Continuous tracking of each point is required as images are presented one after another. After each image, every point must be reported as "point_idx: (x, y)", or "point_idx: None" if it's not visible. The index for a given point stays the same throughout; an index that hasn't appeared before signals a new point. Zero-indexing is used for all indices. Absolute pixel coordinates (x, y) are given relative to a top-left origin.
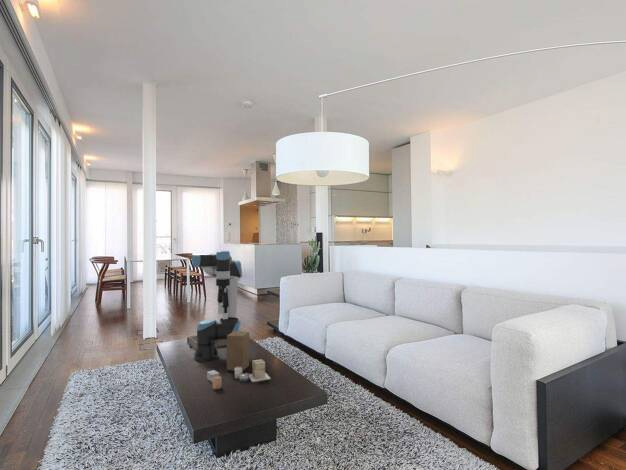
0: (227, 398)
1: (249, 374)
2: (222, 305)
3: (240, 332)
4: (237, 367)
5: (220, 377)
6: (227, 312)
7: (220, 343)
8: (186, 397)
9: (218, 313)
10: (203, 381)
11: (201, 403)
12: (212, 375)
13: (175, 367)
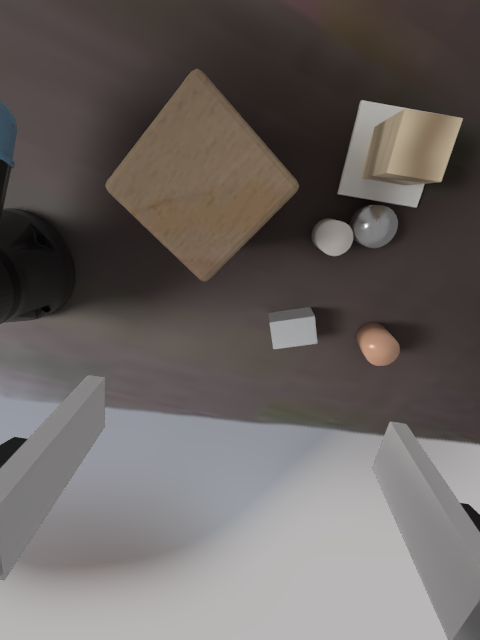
0: (472, 336)
1: (342, 185)
2: (33, 475)
3: (174, 152)
4: (327, 240)
5: (391, 341)
6: (449, 494)
7: None
8: (373, 424)
9: (98, 432)
10: (286, 353)
11: (443, 404)
12: (316, 342)
13: None
